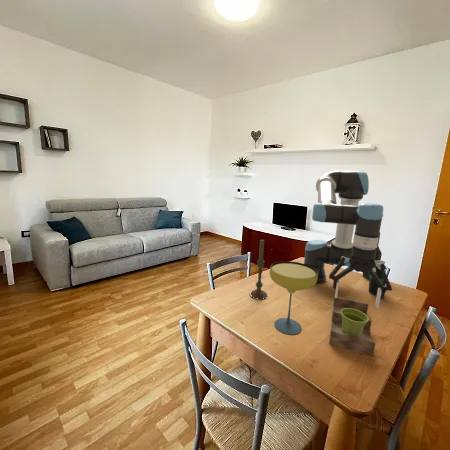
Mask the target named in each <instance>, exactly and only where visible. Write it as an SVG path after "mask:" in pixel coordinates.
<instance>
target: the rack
mask: <svg viewBox="0 0 450 450" xmlns="http://www.w3.org/2000/svg"><path fill="white" fill-rule="evenodd" d="M344 308H352V309H356V310H359V311H361V312H363V313H364V314H366V315H367V316H368V309H369V303H366V302H362V301H358V300H353V299H349V298H346V297H345V298H344V297H340V296H337V298H335V295H334V297H333V305H332V312H331V313H332V315H331V325H330V334H329V344H331V345H333V346H336V347H340V348H343V349H346V350H348V351H352V352H355V353H359V354H363V355H365V356H369V357H374V353H375V347H376V342H375V341H372V334H371V325H372V320H371V319H369V320H368V322H366V324H365V325H364V328H363V331H362V333H361V336H360V338H358V337H355V336H351V335H348V334H344V333H342V314H341V310H342V309H344Z"/></svg>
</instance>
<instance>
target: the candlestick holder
mask: <svg viewBox="0 0 450 450" xmlns="http://www.w3.org/2000/svg"><path fill="white" fill-rule="evenodd" d="M264 248H265V240H264V239H260V240H259V248H258V260H256V263H257V264H256V266H257V267H258V268H257V269H258V271H257V274H258V278H257V282H255V286H256V289H253V290H252V292H251V291H250V292H251V295H252V297H254V298H258V299H262V300H264V299H263V298H265V299H267V298H268V296H267V295H268V293H267V292H266V291H264V290H263V289H262V287H263V286H264V285H263V282H262V275H263V268H264V266H265V260H264V251H265V249H264ZM252 297H251V298H252ZM266 297H267V298H266ZM254 298H253V299H254ZM258 299H257V300H258Z"/></svg>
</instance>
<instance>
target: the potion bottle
mask: <svg viewBox="0 0 450 450" xmlns="http://www.w3.org/2000/svg"><path fill="white" fill-rule="evenodd" d="M380 262H383V263H384V265H385V264H386V261H384V260H377V263H380ZM375 268H376V272H374V273H375V274H376V275H377V277H378V278H379V279H380V281H381V282H382V284H383V285H384V286H386V283H385V280H384V278H383V275H382V273H381V270H380V269H378V267H377V266H375ZM385 270H387V267H386V265H385ZM378 288H380V287H379V286H378V284H377V283H376V282H375V280H374V279H373V278H372V276H371V275H370V277H369V279H368V292H369V293H370V294H372V295H375V296H377V292H378Z"/></svg>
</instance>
